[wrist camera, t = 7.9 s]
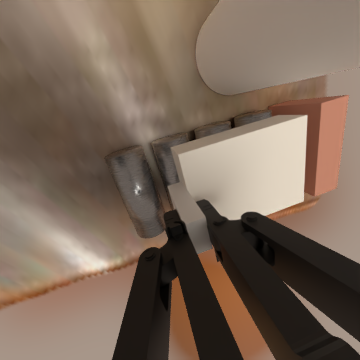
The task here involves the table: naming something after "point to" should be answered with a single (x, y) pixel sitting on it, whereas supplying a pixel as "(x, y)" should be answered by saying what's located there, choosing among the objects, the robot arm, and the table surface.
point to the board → (247, 166)
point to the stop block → (320, 138)
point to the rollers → (143, 180)
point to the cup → (276, 42)
